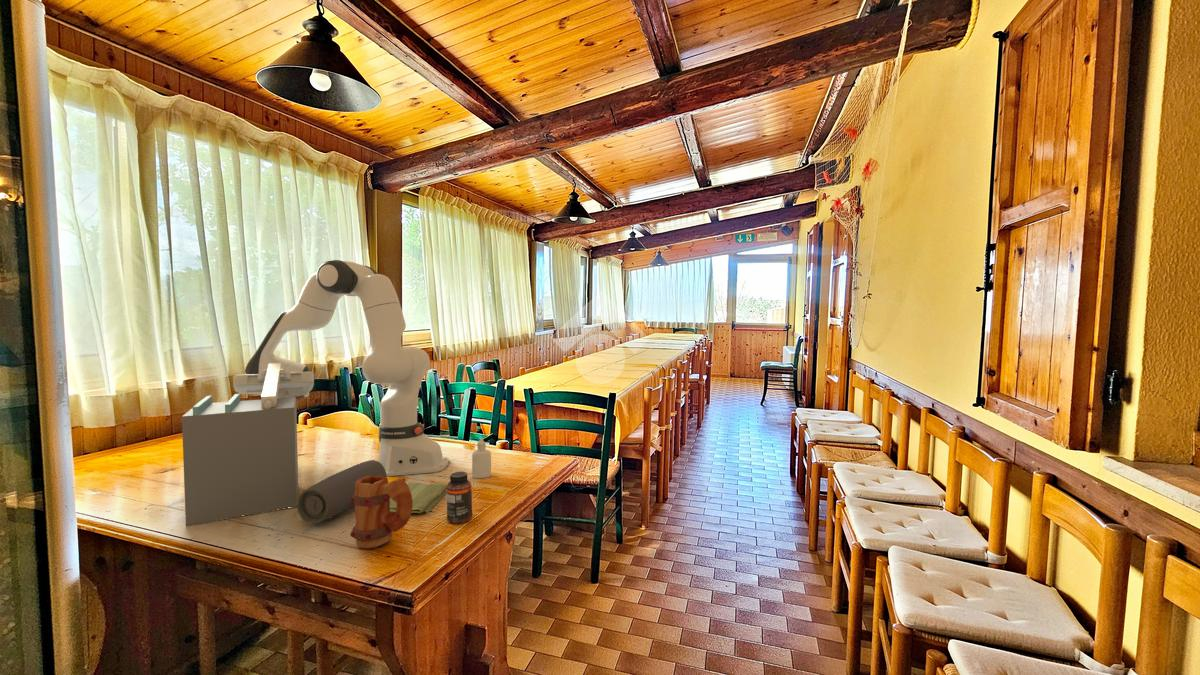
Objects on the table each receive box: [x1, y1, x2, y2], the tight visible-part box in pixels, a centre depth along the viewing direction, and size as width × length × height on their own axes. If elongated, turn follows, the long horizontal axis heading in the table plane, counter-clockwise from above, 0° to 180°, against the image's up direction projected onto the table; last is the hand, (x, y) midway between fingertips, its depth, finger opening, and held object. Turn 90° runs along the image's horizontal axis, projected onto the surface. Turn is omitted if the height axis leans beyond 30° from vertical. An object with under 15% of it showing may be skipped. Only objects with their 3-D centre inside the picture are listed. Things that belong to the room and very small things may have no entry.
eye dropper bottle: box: [471, 437, 492, 479], centre depth 148 cm, size 4×6×12 cm
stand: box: [181, 393, 299, 527], centre depth 125 cm, size 18×22×28 cm
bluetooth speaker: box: [296, 459, 388, 524], centre depth 123 cm, size 23×9×10 cm, turn 171°
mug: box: [349, 476, 413, 549], centre depth 103 cm, size 15×8×15 cm, turn 69°
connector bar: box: [260, 363, 281, 409], centre depth 132 cm, size 31×3×3 cm, turn 31°
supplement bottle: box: [445, 470, 473, 524], centre depth 117 cm, size 6×6×11 cm
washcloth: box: [390, 481, 447, 515], centre depth 128 cm, size 13×18×3 cm
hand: (273, 371), depth 140 cm, fingers closed on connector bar, 3 cm apart
